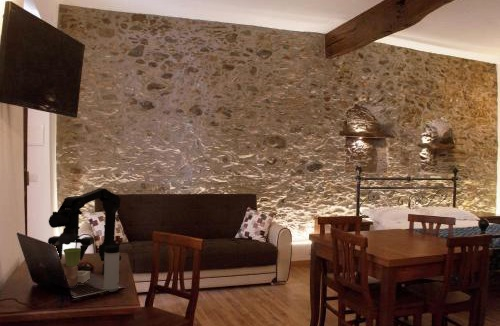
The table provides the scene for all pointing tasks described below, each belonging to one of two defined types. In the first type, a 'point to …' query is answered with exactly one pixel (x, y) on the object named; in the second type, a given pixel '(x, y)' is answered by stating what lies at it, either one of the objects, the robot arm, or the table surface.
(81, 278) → the socket block
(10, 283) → the table surface
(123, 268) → the table surface
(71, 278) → the peg
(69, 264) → the plant pot
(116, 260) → the travel mug
